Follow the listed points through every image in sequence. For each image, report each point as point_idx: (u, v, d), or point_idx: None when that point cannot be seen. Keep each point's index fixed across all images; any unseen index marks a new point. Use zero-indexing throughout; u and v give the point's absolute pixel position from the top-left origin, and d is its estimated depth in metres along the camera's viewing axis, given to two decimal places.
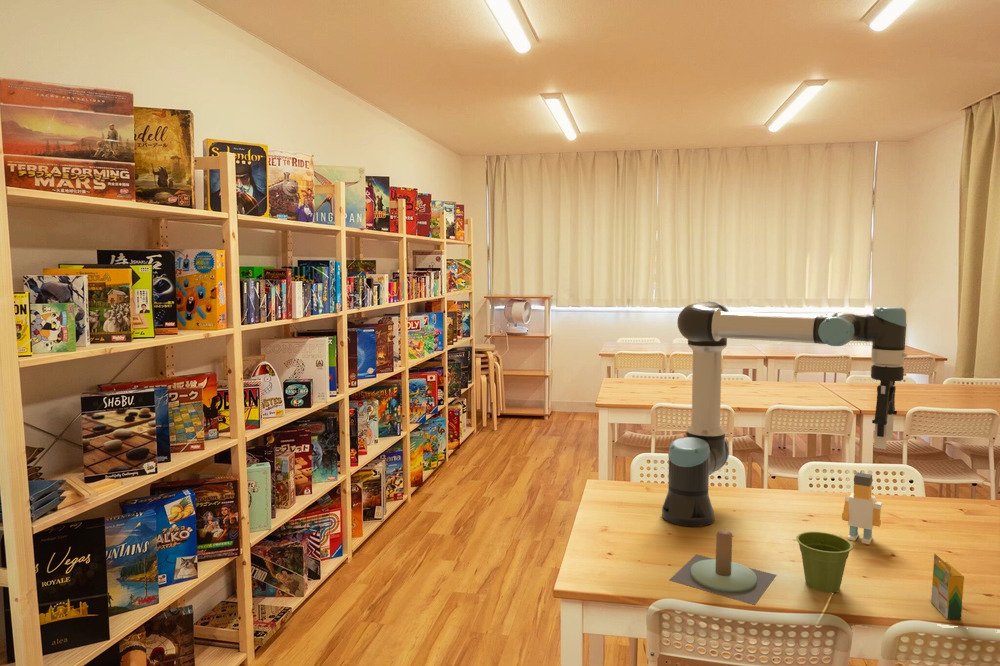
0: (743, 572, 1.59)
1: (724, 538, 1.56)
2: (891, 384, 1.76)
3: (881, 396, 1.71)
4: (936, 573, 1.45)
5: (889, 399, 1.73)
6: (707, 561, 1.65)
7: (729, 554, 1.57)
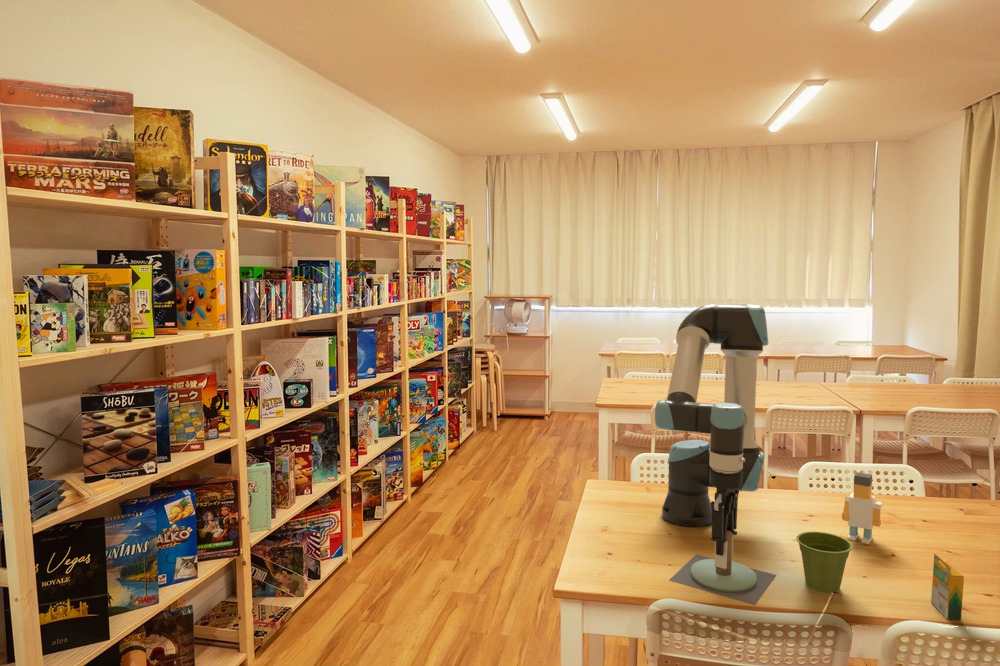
0: (743, 572, 1.59)
1: None
2: (730, 490, 1.57)
3: (715, 513, 1.53)
4: (936, 573, 1.45)
5: (726, 512, 1.55)
6: (707, 561, 1.65)
7: (729, 554, 1.57)
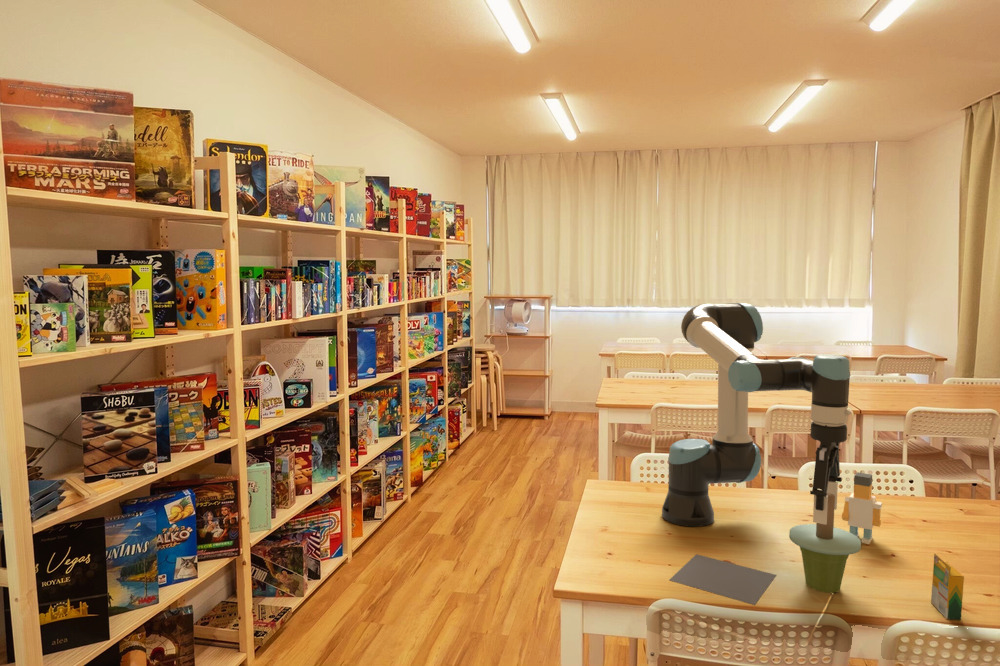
0: (845, 536, 1.54)
1: None
2: (833, 445, 1.52)
3: (819, 463, 1.47)
4: (936, 573, 1.45)
5: (830, 465, 1.49)
6: (803, 526, 1.60)
7: (832, 517, 1.52)
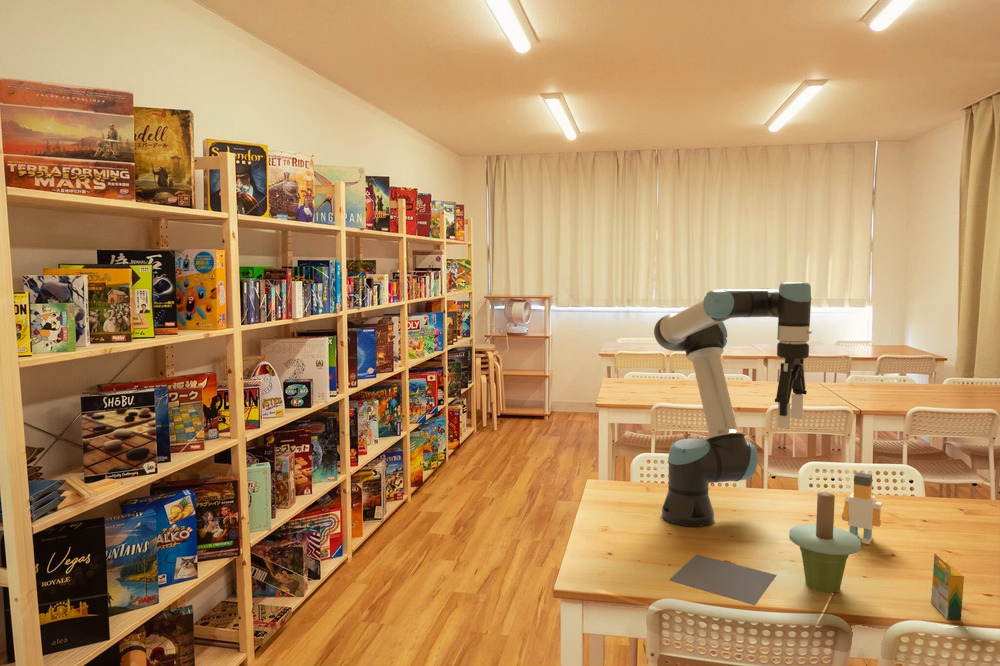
0: (845, 536, 1.54)
1: (827, 500, 1.51)
2: (797, 362, 1.70)
3: (784, 374, 1.65)
4: (936, 573, 1.45)
5: (793, 377, 1.67)
6: (803, 526, 1.60)
7: (832, 517, 1.52)
